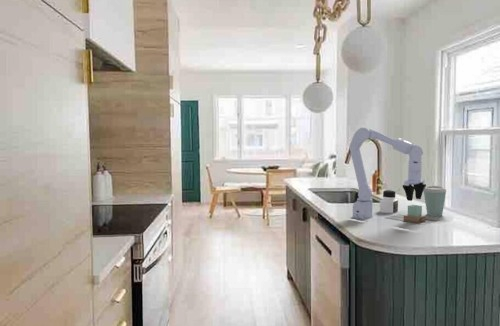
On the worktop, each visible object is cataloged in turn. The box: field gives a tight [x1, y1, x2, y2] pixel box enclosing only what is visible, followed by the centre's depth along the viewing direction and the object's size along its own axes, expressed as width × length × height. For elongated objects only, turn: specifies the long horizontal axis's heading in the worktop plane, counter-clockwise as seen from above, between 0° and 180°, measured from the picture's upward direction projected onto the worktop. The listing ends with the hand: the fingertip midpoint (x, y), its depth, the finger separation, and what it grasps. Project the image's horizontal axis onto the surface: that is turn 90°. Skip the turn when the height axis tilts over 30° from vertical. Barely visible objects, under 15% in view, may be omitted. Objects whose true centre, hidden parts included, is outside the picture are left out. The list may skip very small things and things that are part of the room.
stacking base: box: [385, 213, 438, 226], centre depth 196 cm, size 14×20×4 cm
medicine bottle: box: [379, 189, 399, 214], centre depth 216 cm, size 7×7×12 cm
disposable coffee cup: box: [423, 185, 447, 217], centre depth 208 cm, size 11×11×15 cm
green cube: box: [407, 204, 423, 217], centre depth 192 cm, size 4×4×4 cm
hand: (413, 199), depth 196 cm, fingers open, 7 cm apart
